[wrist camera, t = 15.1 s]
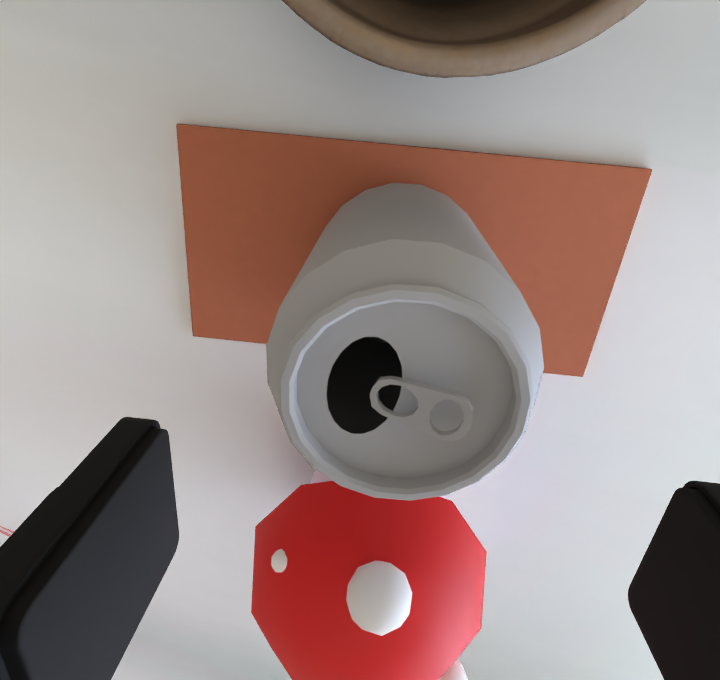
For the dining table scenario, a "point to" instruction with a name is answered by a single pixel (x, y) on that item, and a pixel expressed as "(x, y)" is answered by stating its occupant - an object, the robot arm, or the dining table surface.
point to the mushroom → (367, 585)
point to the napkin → (409, 166)
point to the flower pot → (460, 31)
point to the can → (404, 349)
